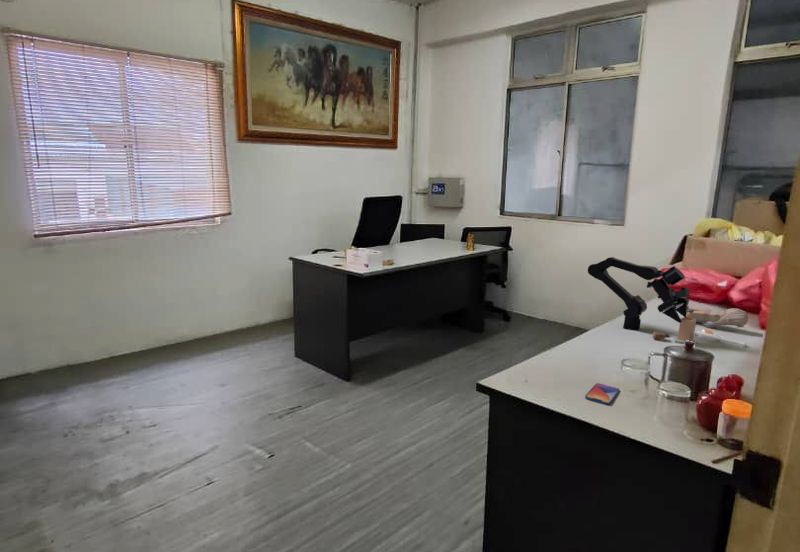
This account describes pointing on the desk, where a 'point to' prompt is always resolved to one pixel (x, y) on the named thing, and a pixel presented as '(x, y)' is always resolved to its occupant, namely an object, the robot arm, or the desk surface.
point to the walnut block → (659, 336)
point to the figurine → (720, 317)
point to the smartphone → (602, 394)
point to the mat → (681, 341)
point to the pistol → (718, 338)
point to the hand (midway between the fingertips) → (685, 320)
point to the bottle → (687, 327)
